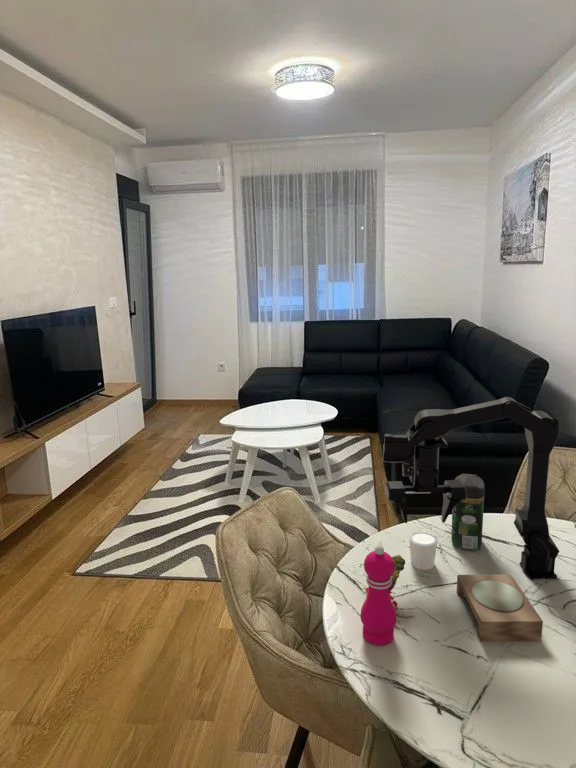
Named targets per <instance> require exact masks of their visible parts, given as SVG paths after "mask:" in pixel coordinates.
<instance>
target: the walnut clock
mask: <svg viewBox="0 0 576 768" xmlns="http://www.w3.org/2000/svg"><path fill="white" fill-rule="evenodd" d="M456 577H457V579H456V595H457V597H465V599H466V601H467V603H468V605H469V607H470V609H471V611H472V613H473V615H474V618H475V619H476V621H477V623H478V626H477V628H478V629H477V637H478V640H479V641H480V642H542V637H543V628H544V627H543V625H544V620H543V619H542V618H541V616H540V615H539V613H538V612H537V610H536V609H535V607H534V606H533V604H532V603H531V602H530V600H529V599H528V597H527V596H526V595H525V593H524V591H523V590H522V589H521V587H520V585H518V583H517V581H516V580H515V579H514V577H513V576H512V574H511V573H510V574H509V573H508V574H505V573H503V574H501V573H498V574H495V573H494V574H457V575H456Z"/></svg>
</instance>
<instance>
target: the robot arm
mask: <svg viewBox="0 0 576 768" xmlns="http://www.w3.org/2000/svg"><path fill="white" fill-rule="evenodd" d="M505 418H506V419H507V418H508V419H510V420H513V421H514V422H515V423H517V424H519V425H520V426H522V427H523V428H524V434H525V438H526V443H527V447H528V456H527V467H526V483H525V495H524V505H523V506H522V507H521V509H518V508H515V509H514V513H515V514H514V515H515V519H514V521H513V525H514V526H515V528H516V530H517V532H518V534H519V536H520V537H521V539H522V540H523V543H524V545H523V550H522V551H521V555H520V556H521V557H520V561H519V566H520V568H522V570H523V572H525V574H526V575H527V576H528V577H529V578H530V579H531V580H533V579H534V580H535V579H540V580H541V579H544V580H545V579H546V580H547V579H548V580H549V579H557V578H558V574H557V573H555V566H556V558H557V557H558V555H559V553H560V550H559V548H558V546H557V545H556V543H555V542H554V540H553V538H552V537H551V535H550V528H549V523H548V519H547V516H546V501H547V488H548V474H549V463H550V456H551V453H552V451H553V450H554V448H555V447H556V444H557V440H558V437H559V434H560V425H559V424H558V422H557V421H555V419H553V418H552V417H551V416H550V415H549V414H548V413H546V412H545V411H542V410H533V409H532V408H530V407H528V406H526V405H524V404H522V403H520V402H518V401H516V400H515V399H514V398H513V397H511V396H504V397H502V398H499V399H495V400H490V401H486V402H482V403H476V404H471V405H468V406H466V405H465V406H462V407H458V408H453V409H443V408H441V409H440V408H435V409H434V408H432V409H431V408H430V409H422V410H420V411H419V412H417V414H416V415H415V417H414V421H413V424H412V425H410V427H409V428H408V429H407V431H406V433H405V434H392V433H385V434H384V439H383V440H384V441H383V445H382V446H383V447H382V448H383V449H382V451H383V455H382V460H383V463H397V464H398V463H400V464H401V463H402V466H401V474H402V477H409V480H410V483H411V484H413V485H404V484H403V481H401V480H397V481H396V480H393V481H392V480H391V481H390V480H389V481H387V482H386V483H385V484H384V485H385V486H384V488H385V489H384V492H385V494H386V497H387V500H388V501H391V502H393V503H394V504H395V505H398V506H399V509H400V512H401V514H402V518H403V522H404V524H407V523H408V505H407V504H408V503H407V500H406V495H423V494H424V495H428V494H429V495H431V494H432V495H433V494H442V497H443V500H442V507H441V508H442V510H441V522H442V523H445V522H446V521H447V519H448V517H449V515H450V514H451V513H452V509H453V508H454V507H455V505H456V504H457V503H460V502H461V500H465V499H467V489H466V488H465V486H464V485H463V484H462V482H461V481H460V480H455V479H447V480H445V481H444V482H443V485H442V484H440V485H439V475H440V470H439V458H440V457H439V456H440V448H445V449H446V448H448V446H449V444H448V442H447V440H446V439H444V438H443V436H445V435H446V434H448V433H450V432H451V431H453V430H456V429H458V428H463V427H468V426H473V425H478V424H482V423H486V422H487V423H488V422H493V421H497V420H501V419H505ZM413 447H414V448H413ZM413 449H414V450H413ZM413 451H414V452H413ZM413 453H414V455H413ZM412 458H413V463H412V466H411V463H408V462H410V460H412ZM529 578H528V579H529Z"/></svg>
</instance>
